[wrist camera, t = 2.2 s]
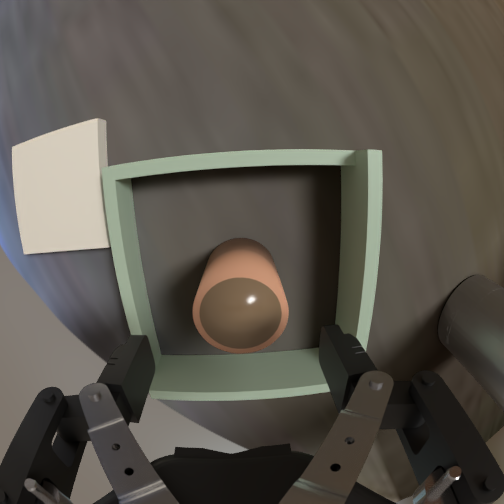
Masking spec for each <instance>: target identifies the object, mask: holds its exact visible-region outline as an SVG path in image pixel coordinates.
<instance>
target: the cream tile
mask: <svg viewBox="0 0 504 504" xmlns="http://www.w3.org/2000/svg"><path fill="white" fill-rule="evenodd" d="M12 166H13V182H14V193H15V202H16V210H17V217H18V224H19V230H20V236H21V241H22V246H23V251H24V254H34V253H46V252H58V251H70V250H83V249H96V248H109V247H110V246H111V243H110V237H109V231H108V224H107V216H106V209H105V200H104V190H103V179H102V168H103V167H108V161H107V140H106V120H102V119H99V118H96V119H93V120H89V121H85V122H82V123H78V124H75V125H72V126H68V127H65V128H62V129H59V130H56V131H53V132H50V133H47V134H45V135H42V136H39V137H36V138H34V139H31V140H28V141H26V142H23V143H21V144H19V145H16V146H14V147H12Z"/></svg>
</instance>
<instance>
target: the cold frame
mask: <svg viewBox="0 0 504 504" xmlns="http://www.w3.org/2000/svg"><path fill="white" fill-rule="evenodd" d="M278 165H341V242H340V265H339V282H338V295H337V308H336V319H335V325H336V324H338V325H339V327H340V328H341V330H342V332H343V333H344V334H347V333H350V334H351V335H353V336H354V337H356V338H357V339H358V340H359V342H360V344H361V345H362V347H363V348H364V350H365V352H366V347H367V342H368V336H369V331H370V325H371V318H372V312H373V305H374V298H375V290H376V282H377V273H378V263H379V251H380V237H381V219H382V151H381V150H368V149H367V150H358V151H350V150H316V149H286V150H252V151H233V152H218V153H206V154H195V155H185V156H176V157H168V158H160V159H152V160H145V161H139V162H132V163H126V164H120V165H114V166H109V167H103V168H102V179H103V190H104V200H105V209H106V216H107V224H108V231H109V237H110V243H111V249H112V255H113V260H114V266H115V271H116V276H117V280H118V285H119V290H120V294H121V298H122V302H123V306H124V310H125V314H126V318H127V322H128V326H129V329H130V333H131V335H147V337H148V339H149V342H150V346H151V350H152V353H153V357H154V360H155V374H154V377H153V380H152V383H151V386H150V389H149V393H150V396H151V398H153V399H166V400H190V401H231V400H255V399H270V398H281V397H292V396H301V395H309V394H316V393H323V392H330V389H329V387H328V384H327V382H326V379H325V377H324V374H323V372H322V369H321V366H320V363H319V348H310V349H301V350H291V351H279V352H266V353H250V354H228V355H161V351H160V347H159V343H158V339H157V335H156V331H155V327H154V322H153V318H152V314H151V309H150V304H149V299H148V294H147V289H146V284H145V279H144V273H143V268H142V262H141V256H140V249H139V243H138V236H137V228H136V220H135V212H134V203H133V193H132V182H131V178H134V177H141V176H149V175H157V174H165V173H174V172H184V171H194V170H205V169H218V168H233V167H251V166H278Z"/></svg>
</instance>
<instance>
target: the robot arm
mask: <svg viewBox="0 0 504 504" xmlns="http://www.w3.org/2000/svg"><path fill="white" fill-rule="evenodd" d="M438 335H439V339H440V341H441V343H442V344H443V345H444V346H445V347H446V348H447V349H448V350H449V351H450V352H451V353H452V354H453V355H454V356H455V357H456V359H457V360H458V361H459V362H460V363H461V364H462V365H463V366H464V367H465V368H466V370H467V371H468V372H469V373H470V374H471V375H472V376H473V377H474V378H475V380H476V381H477V382H478V383H479V384H480V385H481V386H482V387H483V389H484V390H485V391H486V392H487V393H488V394H489V395H490V397H491V398H492V399H493V400H494V401H495V403H496V404H497V405H498V406H499V407H500V408H501V410H502V411H503V412H504V288H503V287H501V286H500V285H498V284H496V283H495V282H493V281H491V280H490V279H488V278H486V277H485V276H482V275H474V276H472V277H470V278H468V279H466V280H465V281H464V282H462V283H461V284H460V285H459V286H458V287H457V288H456V289H455V291H454V292H453V293H452V295H451V296H450V298H449V299H448V301H447V302H446V304H445V307H444V309H443V311H442V314H441V317H440V320H439V325H438ZM319 363H320V366H321V369H322V372H323V374H324V377H325V379H326V382H327V384H328V387H329V389H330V392H331V395H332V397H333V400H334V402H335V405H336V407H337V410H338V413H339V415H338V417H337V419H336V421H335V423H334V424H333V426H332V428H331V430H330V431H329V433H328V435H327V436H326V438H325V440H324V441H323V443H322V445H321V446H320V448H319V450H318V451H317V453H316V454H315V456H312V455H310V454H306V453H302V452H296V451H291V448H290V444H283V445H274V446H262V447H258V448H254V449H251V450H247V451H243V452H239V453H234V454H229V453H223V452H218V451H213V450H208V449H204V448H182V447H175V453H174V455H168V456H164V457H162V458H159V459H156V460H154V461H153V462H151V463H150V462H149V461H148V459H147V458H146V456H145V455H144V453H143V451H142V450H141V448H140V446H139V445H138V443H137V442H136V440H135V438H134V436H133V434H132V433H131V431H130V429H129V427H128V426H129V423H130V422H134V423H139V420H140V417H141V414H142V410H143V407H144V404H145V401H146V398H147V395H148V392H149V389H150V386H151V383H152V380H153V377H154V374H155V360H154V357H153V353H152V350H151V346H150V342H149V339H148V337H147V335H130V337H129V339H128V341H127V342H126V344H125V345H120V346H119V347H118V348H117V349H116V350H114V352H113V354H112V355H111V357H110V359H109V361H108V363H107V365H106V366H105V368H104V370H103V372H102V373H101V375H100V377H99V379H98V381H97V383H92V384H90V385H87V386H85V387H84V388H83V389H82V390H81V391H80V394H79V395H72V396H64V395H63V393H62V391H61V390H60V389H59V388H56V387H49V388H45V389H43V390H42V391H41V392H40V393H39V394H38V395H37V397H36V398H35V400H34V402H33V404H32V405H31V407H30V409H29V410H28V412H27V414H26V416H25V418H24V419H23V421H22V423H21V425H20V427H19V429H18V431H17V433H16V434H15V436H14V438H13V440H12V442H11V444H10V446H9V448H8V450H7V452H6V454H5V457H4V459H3V461H2V463H1V465H0V504H73V503H72V502H71V500H70V496H71V492H72V489H73V485H74V482H75V478H76V475H77V472H78V468H79V465H80V462H81V459H82V455H83V453H84V449H85V446H86V443H87V441H92V444H93V446H94V449H95V451H96V454H97V456H98V458H99V460H100V463H101V465H102V467H103V469H104V471H105V473H106V475H107V478H108V480H109V482H110V484H111V485H112V488H113V491H111V492H110V493H108V494H107V495H105V496H104V497H102V498H101V499H100V500H98V501H96V502H95V503H93V504H396V503H394V502H392V501H390V500H388V499H386V498H385V497H383V496H381V495H379V494H377V493H375V492H373V491H372V490H370V489H368V488H366V487H365V486H363V485H361V484H359V483H358V482H356V480H357V478H358V476H359V474H360V472H361V470H362V468H363V465H364V463H365V461H366V459H367V457H368V454H369V452H370V450H371V447H372V445H373V443H374V440H375V438H376V435H377V433H378V430H379V429H396V431H397V433H398V436H399V438H400V440H401V442H402V445H403V447H404V449H405V452H406V454H407V456H408V459H409V461H410V464H411V466H412V468H413V471H414V473H415V476H416V478H417V481H418V483H419V487H418V488H417V489H416V491H415V493H414V495H413V504H492V503H493V502H494V501H496V500H497V499H498V498H499V497H500V496H501V495H502V494H503V492H504V474H503V472H502V471H501V469H500V468H499V465H498V464H497V462H496V460H495V458H494V457H493V455H492V453H491V452H490V450H489V449H488V447H487V445H486V443H485V442H484V440H483V439H482V437H481V435H480V434H479V432H478V431H477V429H476V427H475V426H474V424H473V423H472V421H471V420H470V418H469V417H468V415H467V414H466V412H465V411H464V409H463V408H462V406H461V405H460V403H459V402H458V401H457V399H456V398H455V396H454V395H453V393H452V392H451V390H450V389H449V388H448V386H447V385H446V383H445V382H444V381H443V379H442V378H441V377H440V376H439V375H438V374H437V373H435V372H432V371H426V370H425V371H420V372H417V373H416V374H415V375H414V376H413V378H412V381H393V379H392V377H391V376H390V375H388V374H387V373H385V372H382V371H378V370H377V369H376V367H375V366H374V364H373V362H372V361H371V359H370V358H369V356H368V354H367V353H366V352H365V350H364V348H363V347H362V345H361V344H360V342H359V340H358V339H357V338H356V337H354V336H353V335H351V334H350V333H347V334H344V333H343V332H342V330H341V328H340V327H339V325H338V324H336V325H328V326H322V327H321V333H320V344H319ZM56 432H57V436H56V438H55V440H54V443H53V446H52V439H53V437H54V435H55V433H56Z"/></svg>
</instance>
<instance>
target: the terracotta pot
mask: <svg viewBox="0 0 504 504" xmlns="http://www.w3.org/2000/svg"><path fill="white" fill-rule="evenodd" d="M288 314H289V311H288V304H287V300H286V297H285V294H284V291H283V288H282V284H281V281H280V278H279V275H278V272H277V269H276V266H275V263H274V260H273V258H272V256H271V254H270V252H269V251H268V250H267V249H266V248H265V247H264V246H263V245H262V244H260V243H258V242H257V241H254V240H251V239H247V238H234V239H230V240H227V241H225V242H223V243H221V244H220V245H219V246H217V247H216V248H215V249H214V251H213V252H212V253H211V255H210V257H209V259H208V262H207V265H206V268H205V271H204V273H203V276H202V279H201V282H200V285H199V288H198V291H197V294H196V297H195V300H194V304H193V319H194V323H195V326H196V328H197V330H198V332H199V333H200V334H201V336H202V337H203V338H204V339H205V340H206V341H207V342H208V343H210V344H211V345H213V346H214V347H216V348H218V349H220V350H223V351H226V352H230V353H251V352H256V351H259V350H261V349H264V348H266V347H267V346H269V345H271V344H272V343H273V342H274V341H276V340H277V339H278V338H279V336H280V335H281V334H282V332H283V331H284V329H285V327H286V324H287V321H288Z"/></svg>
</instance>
